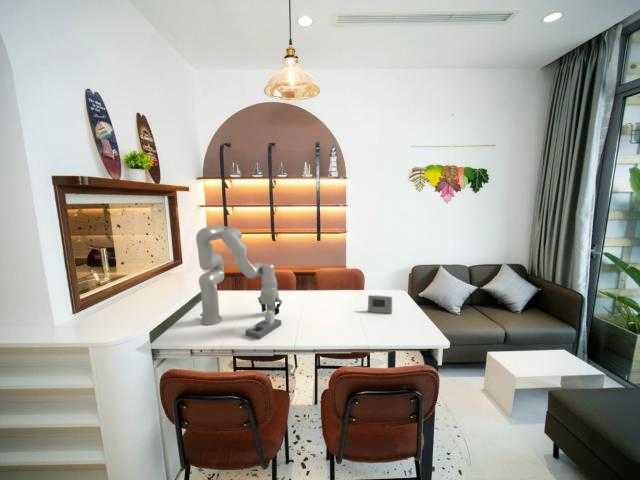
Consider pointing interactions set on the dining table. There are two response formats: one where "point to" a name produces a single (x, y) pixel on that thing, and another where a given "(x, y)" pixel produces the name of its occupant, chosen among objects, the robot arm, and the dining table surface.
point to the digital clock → (380, 304)
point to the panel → (262, 329)
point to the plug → (269, 317)
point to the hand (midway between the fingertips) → (270, 312)
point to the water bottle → (272, 307)
